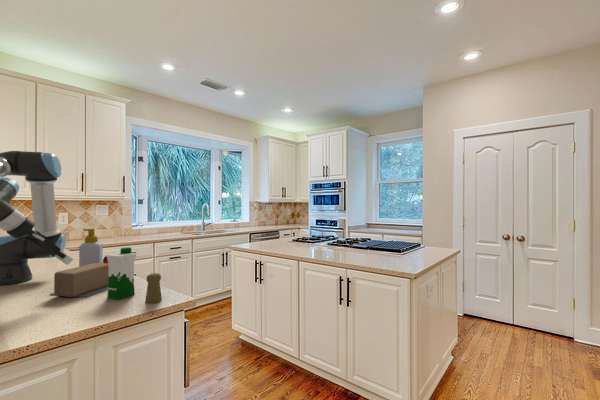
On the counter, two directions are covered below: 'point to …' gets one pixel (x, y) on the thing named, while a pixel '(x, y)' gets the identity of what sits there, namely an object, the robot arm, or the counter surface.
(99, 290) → the mat
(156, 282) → the olive peg figure
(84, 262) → the soap bottle
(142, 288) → the counter surface
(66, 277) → the block
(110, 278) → the milk carton
